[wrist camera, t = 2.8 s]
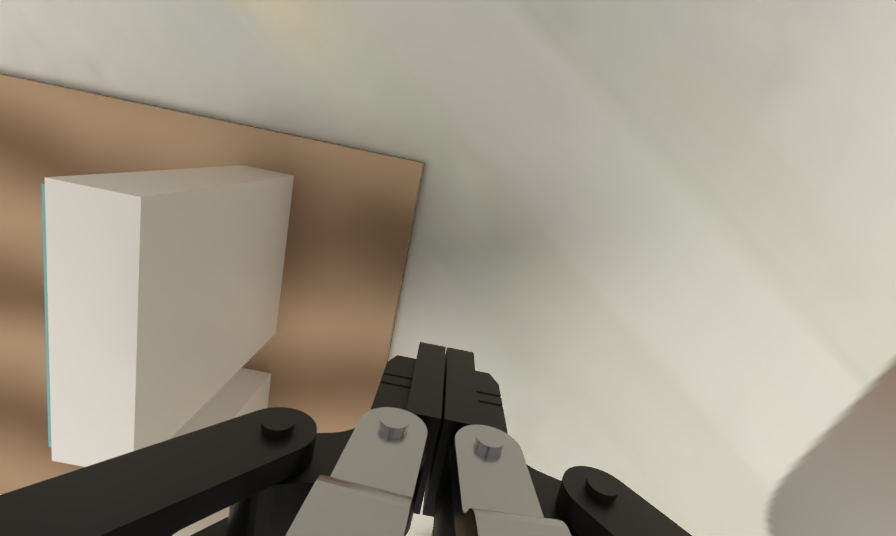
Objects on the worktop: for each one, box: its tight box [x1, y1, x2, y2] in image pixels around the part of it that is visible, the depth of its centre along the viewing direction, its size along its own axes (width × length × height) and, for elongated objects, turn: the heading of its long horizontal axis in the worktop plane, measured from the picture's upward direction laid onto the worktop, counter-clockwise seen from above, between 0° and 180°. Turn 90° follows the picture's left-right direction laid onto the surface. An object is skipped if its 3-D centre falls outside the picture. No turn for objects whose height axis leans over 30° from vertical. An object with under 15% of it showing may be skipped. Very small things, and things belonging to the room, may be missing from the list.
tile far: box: [170, 368, 271, 536], centre depth 17 cm, size 7×2×9 cm, turn 168°
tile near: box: [41, 165, 294, 467], centre depth 15 cm, size 7×2×9 cm, turn 168°
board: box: [0, 74, 424, 494], centre depth 21 cm, size 20×18×1 cm
